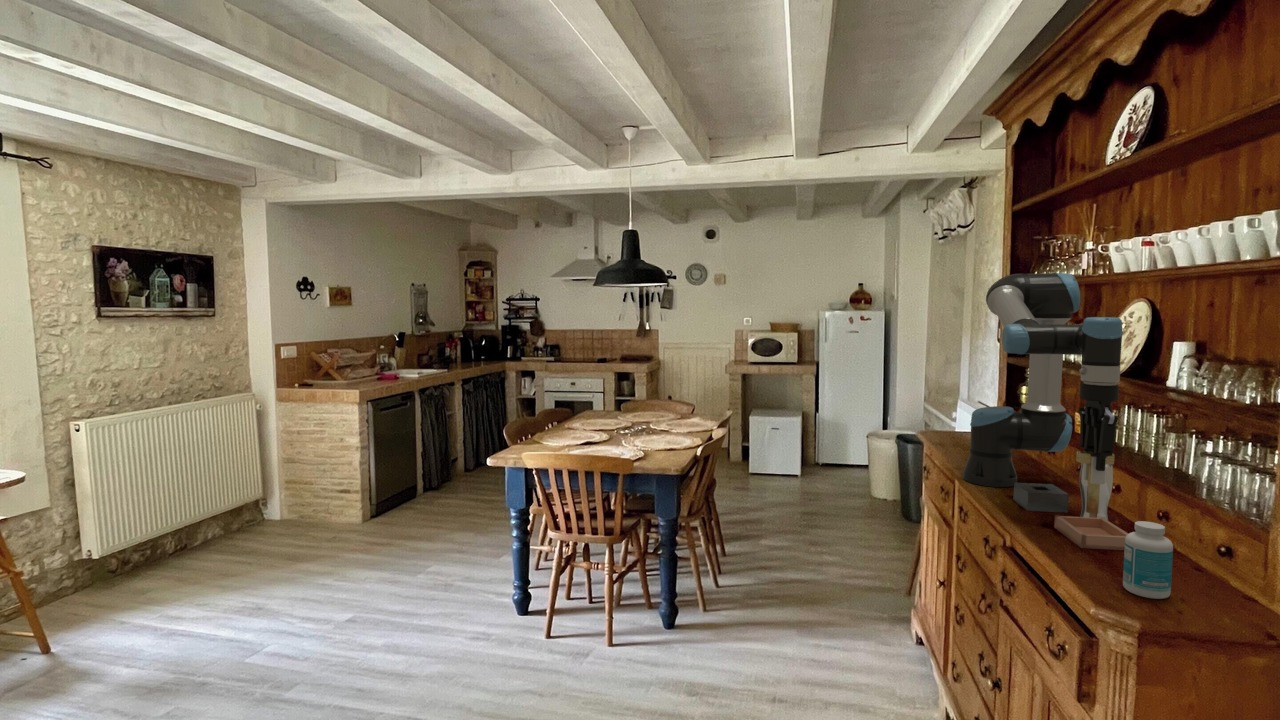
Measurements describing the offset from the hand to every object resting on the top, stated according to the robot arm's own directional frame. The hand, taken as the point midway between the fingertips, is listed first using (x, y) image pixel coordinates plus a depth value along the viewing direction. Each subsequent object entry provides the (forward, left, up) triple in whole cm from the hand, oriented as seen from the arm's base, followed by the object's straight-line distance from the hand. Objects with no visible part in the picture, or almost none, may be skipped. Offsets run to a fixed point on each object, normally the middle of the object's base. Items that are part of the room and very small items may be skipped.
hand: (1094, 481), depth 156 cm
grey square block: (-25, -2, -14) cm, 29 cm away
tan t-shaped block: (0, 0, -7) cm, 7 cm away
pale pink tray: (0, 0, -14) cm, 14 cm away
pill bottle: (+30, -4, -14) cm, 33 cm away
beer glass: (-14, +7, -14) cm, 21 cm away
